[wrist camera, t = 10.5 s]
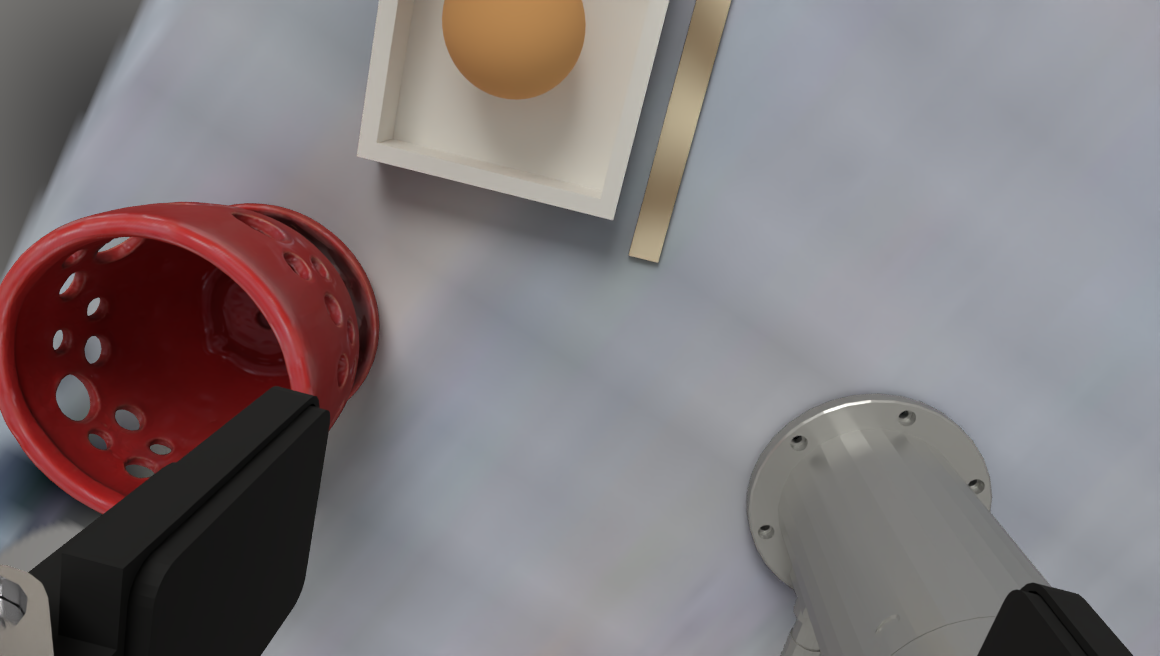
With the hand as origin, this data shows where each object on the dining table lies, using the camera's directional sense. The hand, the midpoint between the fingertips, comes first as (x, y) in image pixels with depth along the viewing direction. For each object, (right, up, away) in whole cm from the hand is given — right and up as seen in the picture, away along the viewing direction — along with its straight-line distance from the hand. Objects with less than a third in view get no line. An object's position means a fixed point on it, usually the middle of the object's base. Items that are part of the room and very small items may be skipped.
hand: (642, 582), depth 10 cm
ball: (-3, +17, +25) cm, 31 cm away
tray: (-3, +17, +26) cm, 31 cm away
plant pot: (-17, +5, +31) cm, 35 cm away
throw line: (+5, +16, +25) cm, 30 cm away
